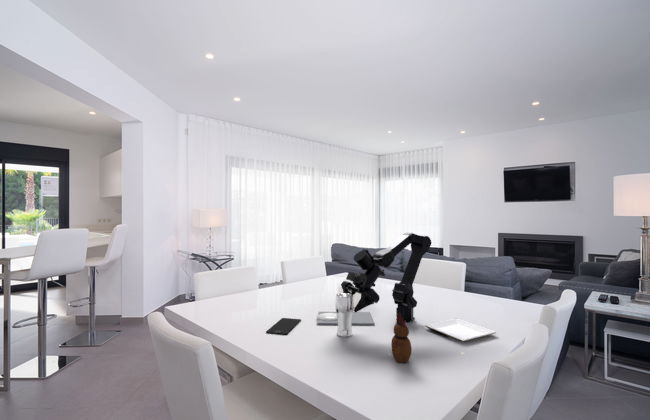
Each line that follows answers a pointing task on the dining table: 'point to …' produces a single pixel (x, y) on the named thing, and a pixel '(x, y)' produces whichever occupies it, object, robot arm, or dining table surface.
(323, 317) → the base plate
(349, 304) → the beer glass
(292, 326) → the cell phone
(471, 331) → the plate
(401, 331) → the wooden figurine
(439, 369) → the dining table surface
